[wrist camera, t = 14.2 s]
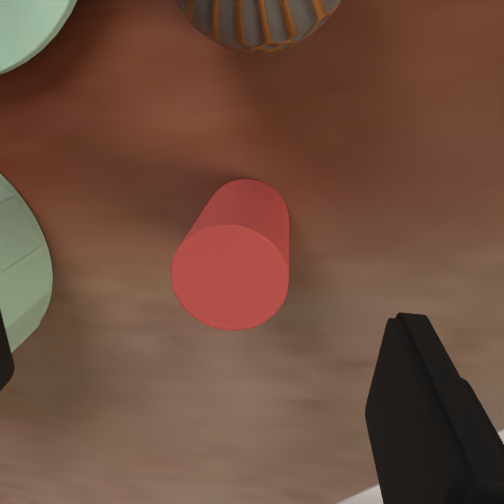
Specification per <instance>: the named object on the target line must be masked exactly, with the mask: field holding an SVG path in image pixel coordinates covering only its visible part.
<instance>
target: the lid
mask: <svg viewBox="0 0 504 504" xmlns="http://www.w3.org/2000/svg"><path fill="white" fill-rule="evenodd" d="M76 2H77V0H0V74H3V73H6V72H9V71H11V70H13V69H15V68H16V67H18V66H20V65H22V64H24V63H26V62H27V61H29V60H30V59H31V58H33V57H34V56H35V55H36V54H38V53H39V52H40V51H42V50H43V49H44V48H45V47H46V46H47V44H48V43H49V42H50V41H51V40H52V39H53V38H54V37H55V36H56V35H57V34H58V32H59V31H60V29H61V28H62V26H63V25H64V23H65V22H66V20H67V19H68V17H69V16H70V14H71V13H72V10H73V8H74V6H75V4H76Z"/></svg>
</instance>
